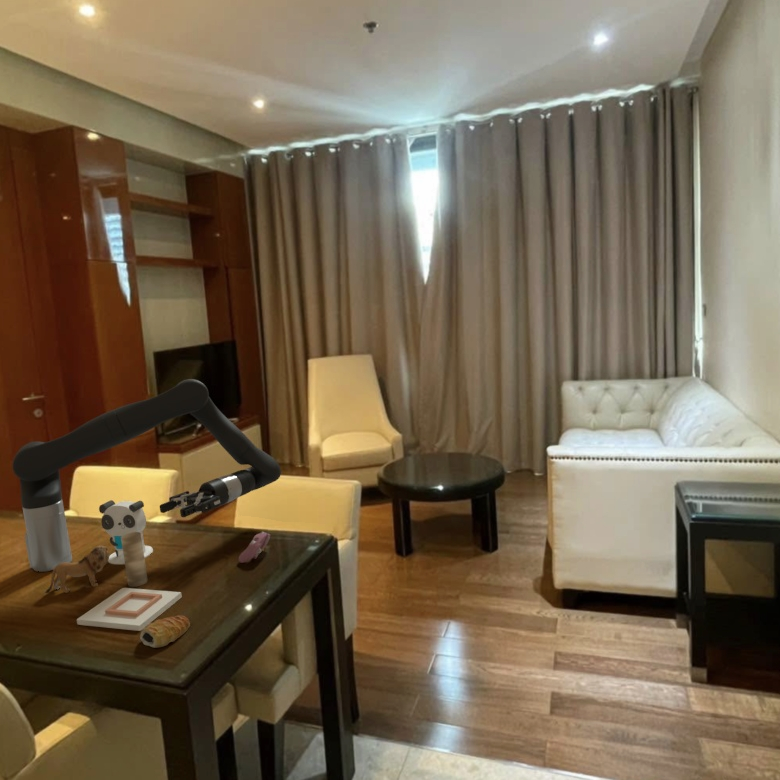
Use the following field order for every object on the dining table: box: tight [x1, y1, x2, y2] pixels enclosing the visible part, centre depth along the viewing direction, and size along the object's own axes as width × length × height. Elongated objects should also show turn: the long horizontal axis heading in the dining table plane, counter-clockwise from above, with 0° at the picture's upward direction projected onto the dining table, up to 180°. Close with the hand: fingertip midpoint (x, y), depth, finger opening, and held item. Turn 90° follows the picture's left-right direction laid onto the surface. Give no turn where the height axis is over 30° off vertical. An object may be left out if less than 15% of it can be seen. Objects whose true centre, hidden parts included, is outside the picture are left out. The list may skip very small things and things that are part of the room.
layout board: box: [76, 587, 183, 632], centre depth 131 cm, size 16×14×2 cm
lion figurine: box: [45, 545, 110, 594], centre depth 145 cm, size 15×5×9 cm, turn 117°
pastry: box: [139, 614, 191, 649], centre depth 120 cm, size 9×7×4 cm
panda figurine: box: [98, 499, 154, 565], centre depth 161 cm, size 12×11×15 cm
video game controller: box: [238, 531, 272, 564], centre depth 155 cm, size 10×5×7 cm, turn 169°
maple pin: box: [121, 532, 149, 588], centre depth 144 cm, size 4×4×12 cm
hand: (170, 511), depth 152 cm, fingers open, 8 cm apart
